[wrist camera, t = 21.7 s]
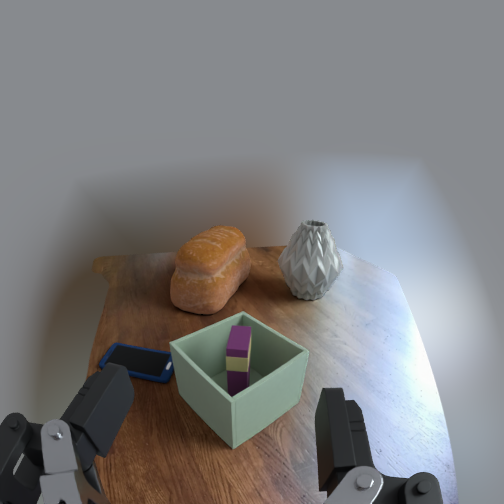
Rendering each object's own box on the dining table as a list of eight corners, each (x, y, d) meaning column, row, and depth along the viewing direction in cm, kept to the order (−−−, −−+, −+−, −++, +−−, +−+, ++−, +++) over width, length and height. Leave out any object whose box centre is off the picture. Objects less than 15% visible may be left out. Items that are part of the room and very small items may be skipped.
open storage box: (242, 361, 48) (243, 311, 44) (299, 401, 39) (309, 350, 35) (179, 394, 40) (169, 342, 36) (233, 449, 31) (230, 402, 27)
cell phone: (168, 384, 41) (167, 381, 41) (98, 368, 42) (96, 365, 42) (180, 356, 48) (179, 353, 48) (114, 344, 49) (113, 341, 49)
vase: (263, 291, 73) (266, 220, 67) (303, 274, 84) (309, 212, 77) (312, 317, 62) (322, 238, 55) (350, 294, 72) (361, 226, 66)
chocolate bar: (232, 385, 42) (231, 324, 37) (249, 386, 41) (251, 326, 37) (228, 408, 37) (225, 348, 33) (246, 410, 37) (248, 350, 32)
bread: (165, 308, 64) (158, 246, 58) (212, 266, 87) (211, 218, 82) (218, 321, 60) (216, 254, 55) (254, 273, 83) (256, 222, 78)
